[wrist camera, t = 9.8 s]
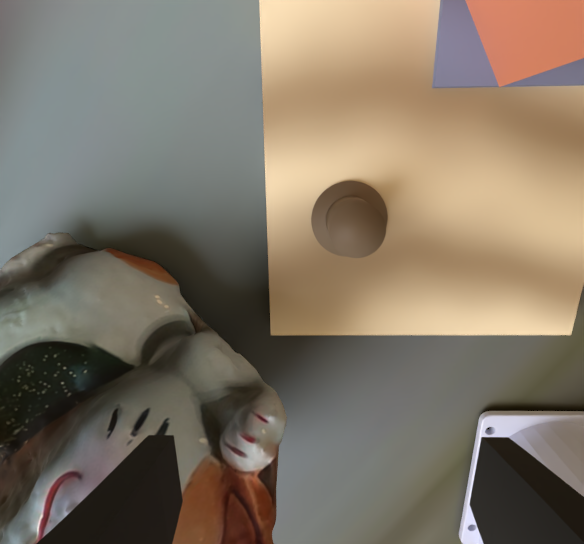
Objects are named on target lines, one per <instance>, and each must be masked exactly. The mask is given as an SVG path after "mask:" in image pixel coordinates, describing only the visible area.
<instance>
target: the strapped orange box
mask: <svg viewBox="0 0 584 544" xmlns="http://www.w3.org/2000/svg"><path fill="white" fill-rule="evenodd" d="M465 1H466V3H467V6H468V8H469V11H470V13H471V16H472V19H473V21H474V24H475V26H476V29H477V31H478V34H479V36H480V39H481V42H482V44H483V47H484V49H485V52H486V54H487V57H488V59H489V62H490V65H491V67H492V70H493V72H494V75H495V77H496V80H497V82H498V85H499V87H501V86H504V85H507V84H510V83H513V82H516V81H519V80H522V79H525V78H527V77H530V76H533V75H536V74H539V73H542V72H545V71H548V70H551V69H553V68H556V67H559V66H562V65H565V64H568V63H571V62H574V61H577V60H579V59H582V58H584V0H465Z"/></svg>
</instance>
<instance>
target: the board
mask: <svg viewBox="0 0 584 544" xmlns="http://www.w3.org/2000/svg"><path fill="white" fill-rule="evenodd" d="M259 1H260V31H261V60H262V90H263V120H264V149H265V179H266V208H267V238H268V267H269V297H270V326H271V335H571V333H572V329H573V325H574V321H575V317H576V312H577V308H578V304H579V300H580V296H581V292H582V288H583V284H584V58H582V59H579V60H577V61H574V62H571V63H568V64H565V65H562V66H559V67H556V68H553V69H551V70H548V71H545V72H542V73H539V74H536V75H533V76H530V77H527V78H525V79H522V80H519V81H516V82H513V83H510V84H507V85H504V86H501V87H499V85H498V82H497V80H496V77H495V75H494V72H493V70H492V67H491V65H490V62H489V59H488V57H487V54H486V52H485V49H484V47H483V44H482V42H481V39H480V36H479V34H478V31H477V29H476V26H475V24H474V21H473V19H472V16H471V13H470V11H469V8H468V6H467V3H466V1H465V0H259Z"/></svg>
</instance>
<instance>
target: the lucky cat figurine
mask: <svg viewBox="0 0 584 544" xmlns="http://www.w3.org/2000/svg"><path fill="white" fill-rule="evenodd" d="M286 420H287V417H286V414H285V410H284V407H283V404H282V402H281V400H280V399H279V397H278V394H277V393H276V392H275V391H274V389H273V388H271V387H270V386H269V385H267V384H266V383H264V382H263V380H262V378H261V377H260V375H259V374H258V372H257V370H256V369H255V368H254V367H253V366H252V365H251V364H250V363H249V362H248V361H247V360H246V359H245V358H244V357H243V356H242V355H241V354H239V353H236V352H235V351H234V350H233V349H231V347H230V345H229V344H228V343H227V342H225V341H224V340H223V339H222V338H221V337H219V336H218V333H217V332H215V331H214V330H213V329H212V328H210V327H209V326H208V325H207V324H206V323H205V322H204V321H203V320H202V319H201V318H200V317H199V316H198V315H197V314H196V313H195V312H194V311H193V309H192V308H191V307H190V306H189V305H188V304H187V303H186V301H185V300H184V298H183V297H182V296H181V295H180V288H179V284H178V283H177V281H176V280H175V279H174V277H172V276H171V275H170V274H169V273H168V272H167V271H166V270H165V269H164V268H163V267H161V266H160V265H159V264H157V263H156V262H154V261H150V260H147V259H144V258H140V257H137V256H134V255H130V254H126V253H123V252H121V251H118V250H115V249H112V248H105V249H104V250H101V251H98V250H95V249H92V248H89V247H85V246H83V245H81V244H77V243H76V241H75V240H74V239H73V238H72V237H71V235H70V234H69V233H55V234H53V233H49V234H47V235H46V237H45V238H43V239H42V240H41V241H39V242H38V243H36V244H34V245H32V246H30V247H29V248H27V249H26V250H24V251H22V252H21V253H19V254H18V255H16V256H14V257H12V258H11V259H10V260H9V261H8V262H6V264H5V265H4V266H3V267H2V269H1V270H0V544H36V543H37V542H39V541H40V540H41V539H42V538H43V537H44V536H45V535H46V534H47V533H49V532H50V531H51V530H52V529H53V528H54V527H55V526H56V525H57V524H58V523H59V522H60V521H62V520H63V519H64V518H65V517H66V516H67V515H68V514H69V513H70V512H71V511H72V510H73V509H74V508H75V507H76V506H77V505H78V504H79V503H80V502H81V501H82V500H83V499H84V498H85V497H86V496H87V495H88V494H90V493H91V492H92V491H93V490H94V489H95V488H96V487H97V486H98V485H99V484H100V483H101V482H102V481H103V480H104V479H105V478H106V477H107V476H108V475H109V474H110V473H111V472H112V471H113V470H114V469H115V468H116V467H117V466H118V465H119V464H120V463H121V462H122V461H123V460H124V459H125V458H126V457H127V456H128V455H129V454H130V453H131V452H132V451H133V450H134V449H135V448H136V447H137V446H138V445H139V444H140V443H141V442H142V441H143V440H144V439H145V438H146V437H147V436H148V435H174V440H175V448H176V455H177V462H178V469H179V477H180V484H181V491H182V499H183V503H182V507H181V511H180V515H179V519H178V523H177V527H176V531H175V535H174V539H173V543H172V544H274V543H273V540H272V530H273V527H274V525H275V521H276V482H277V467H278V452H279V445H280V443H281V441H282V437H283V432H284V429H285V426H286Z"/></svg>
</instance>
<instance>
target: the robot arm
mask: <svg viewBox="0 0 584 544" xmlns="http://www.w3.org/2000/svg"><path fill="white" fill-rule="evenodd" d="M488 427H491V428H489V429H487V428H488ZM486 429H487V430H486ZM182 503H183V499H182V491H181V484H180V477H179V469H178V462H177V455H176V448H175V440H174V435H148V436H147V437H146V438H145V439H144V440H143V441H142V442H141V443H140V444H139V445H138V446H137V447H136V448H135V449H134V450H133V451H132V452H131V453H130V454H129V455H128V456H127V457H126V458H125V459H124V460H123V461H122V462H121V463H120V464H119V465H118V466H117V467H116V468H115V469H114V470H113V471H112V472H111V473H110V474H109V475H108V476H107V477H106V478H105V479H104V480H103V481H102V482H101V483H100V484H99V485H98V486H97V487H96V488H95V489H94V490H93V491H92V492H91V493H90V494H88V495H87V496H86V497H85V498H84V499H83V500H82V501H81V502H80V503H79V504H78V505H77V506H76V507H75V508H74V509H73V510H72V511H71V512H70V513H69V514H68V515H67V516H66V517H65V518H64V519H63V520H62V521H60V522H59V523H58V524H57V525H56V526H55V527H54V528H53V529H52V530H51V531H50V532H49V533H47V534H46V535H45V536H44V537H43V538H42V539H41V540H40V541H39V542H37V543H36V544H172V543H173V539H174V535H175V531H176V527H177V523H178V519H179V515H180V511H181V507H182ZM459 537H460V540H461V542H462V543H463V544H584V411H486V412H484V413H482V414H481V415H480V418H479V422H478V428H477V433H476V439H475V445H474V451H473V456H472V462H471V468H470V474H469V479H468V485H467V491H466V497H465V502H464V508H463V514H462V520H461V525H460V531H459Z"/></svg>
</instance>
